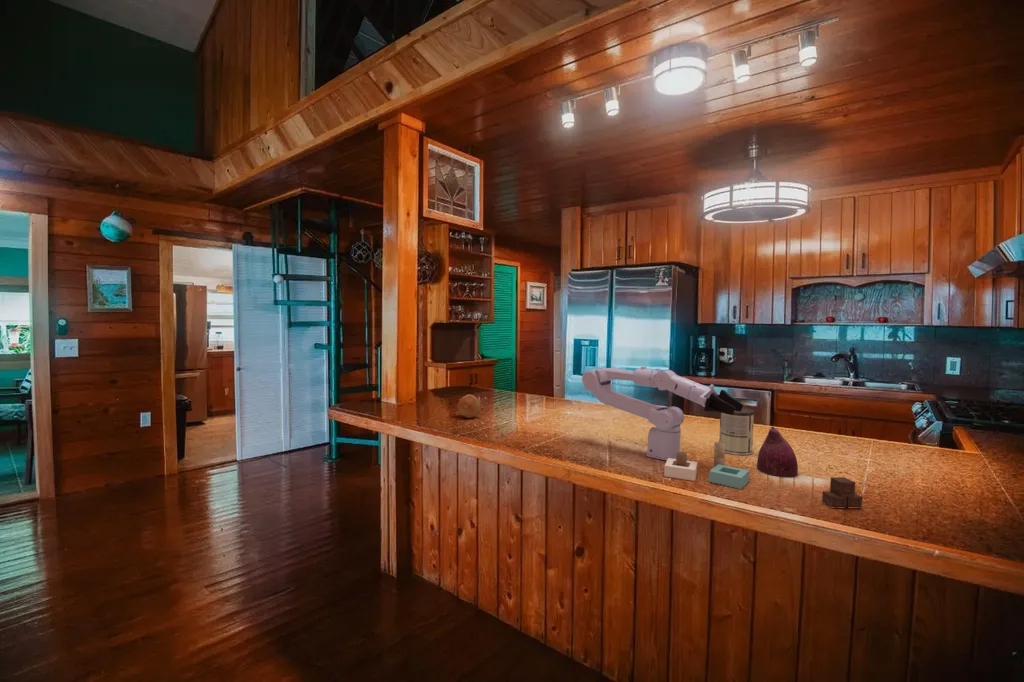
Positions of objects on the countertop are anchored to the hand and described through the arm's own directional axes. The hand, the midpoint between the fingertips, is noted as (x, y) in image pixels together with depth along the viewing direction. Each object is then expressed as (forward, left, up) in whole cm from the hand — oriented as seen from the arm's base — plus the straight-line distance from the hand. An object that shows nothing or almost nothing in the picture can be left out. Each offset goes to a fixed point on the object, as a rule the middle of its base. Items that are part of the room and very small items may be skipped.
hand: (738, 409), depth 134 cm
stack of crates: (+25, -7, -19) cm, 32 cm away
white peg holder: (-11, -12, -18) cm, 25 cm away
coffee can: (-6, +24, -18) cm, 31 cm away
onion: (-106, -2, -18) cm, 108 cm away
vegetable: (+9, +10, -18) cm, 23 cm away
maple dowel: (-4, -1, -18) cm, 19 cm away
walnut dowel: (-11, -12, -18) cm, 25 cm away
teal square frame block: (+1, -9, -18) cm, 20 cm away
